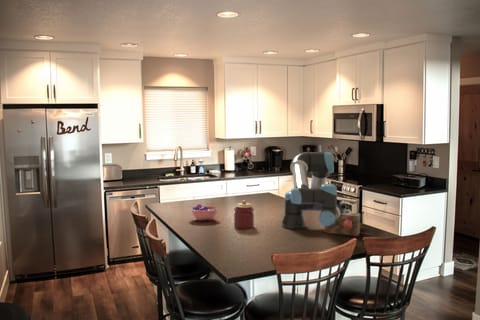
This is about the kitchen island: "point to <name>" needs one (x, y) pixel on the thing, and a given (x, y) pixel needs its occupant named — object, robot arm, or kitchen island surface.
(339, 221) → the walnut plug block
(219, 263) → the kitchen island surface
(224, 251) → the kitchen island surface
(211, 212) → the cell model
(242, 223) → the canister
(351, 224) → the red plug
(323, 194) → the robot arm
